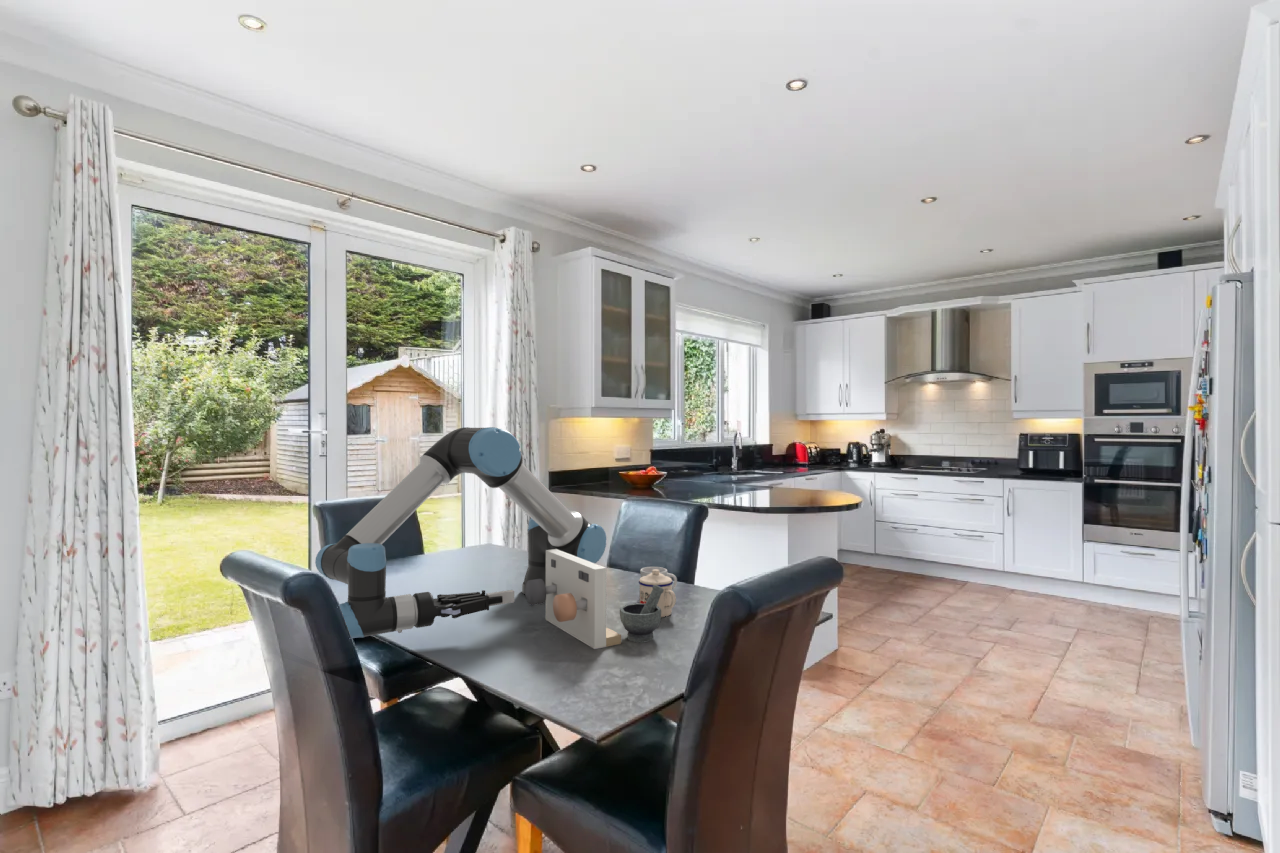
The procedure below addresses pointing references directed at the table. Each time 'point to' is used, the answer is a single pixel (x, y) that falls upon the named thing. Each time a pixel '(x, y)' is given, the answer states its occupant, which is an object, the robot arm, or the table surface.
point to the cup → (663, 571)
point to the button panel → (580, 597)
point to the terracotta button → (567, 607)
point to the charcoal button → (538, 591)
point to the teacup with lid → (666, 597)
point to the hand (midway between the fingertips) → (513, 596)
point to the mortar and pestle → (642, 617)
